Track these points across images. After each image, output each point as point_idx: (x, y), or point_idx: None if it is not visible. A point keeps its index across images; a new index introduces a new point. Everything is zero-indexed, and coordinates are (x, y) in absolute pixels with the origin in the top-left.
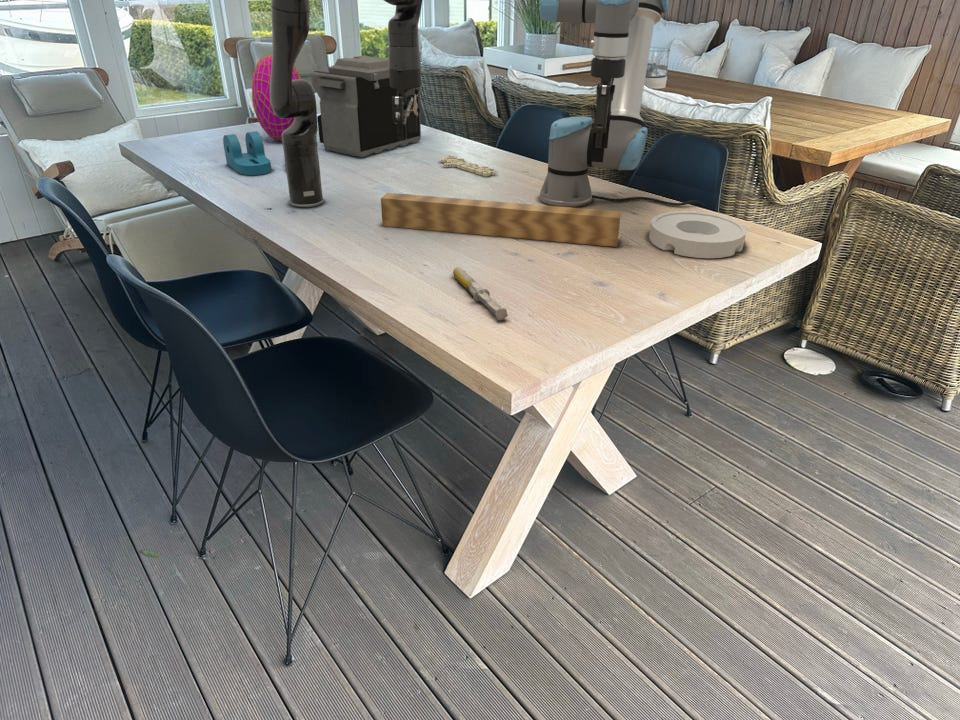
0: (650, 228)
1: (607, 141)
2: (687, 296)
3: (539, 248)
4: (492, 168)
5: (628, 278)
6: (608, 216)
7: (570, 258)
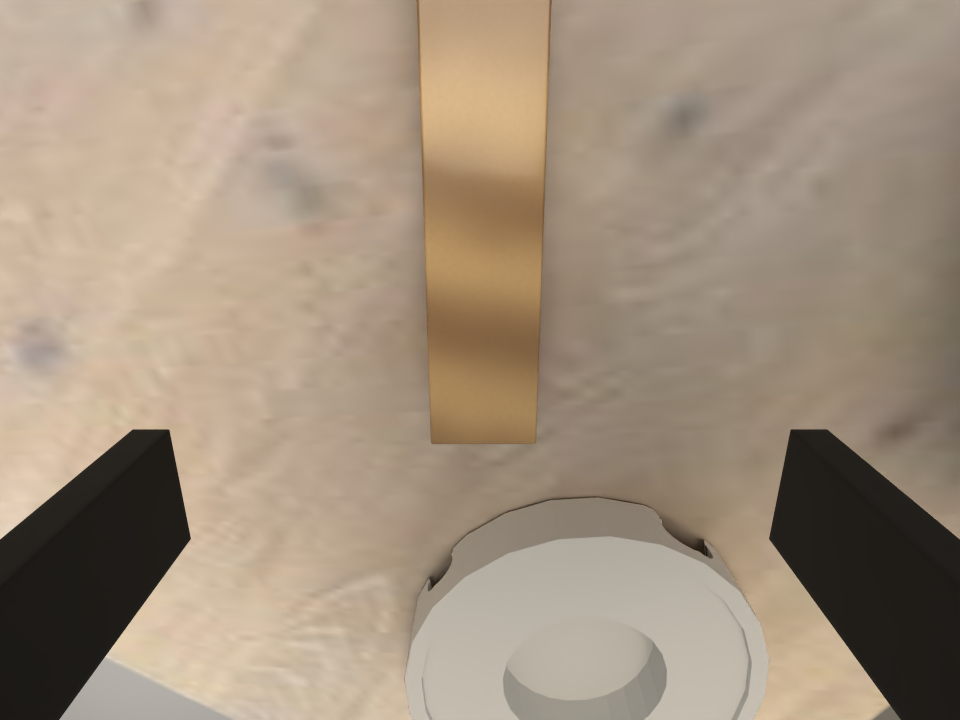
0: (592, 519)
1: (808, 589)
2: None
3: (320, 33)
4: None
5: None
6: (435, 390)
7: (248, 205)
